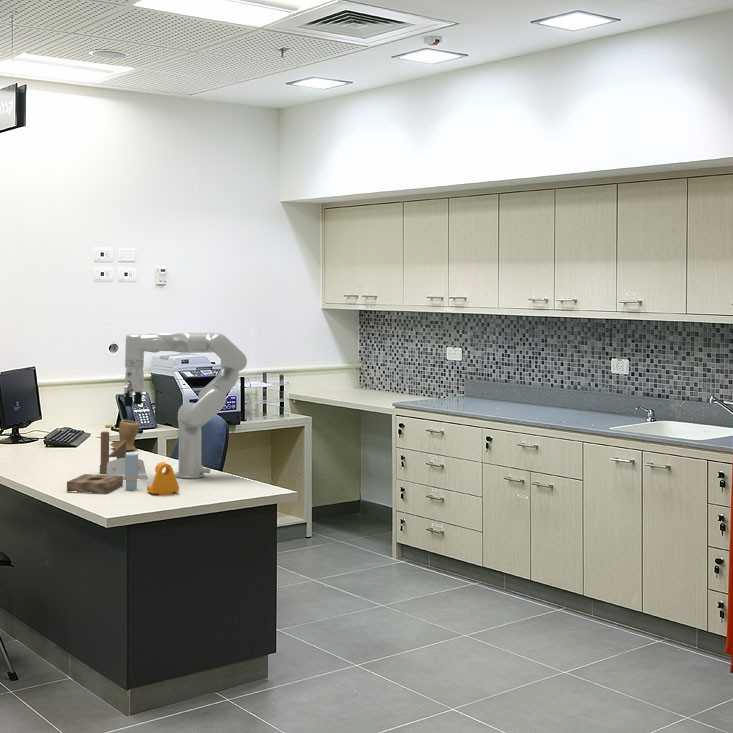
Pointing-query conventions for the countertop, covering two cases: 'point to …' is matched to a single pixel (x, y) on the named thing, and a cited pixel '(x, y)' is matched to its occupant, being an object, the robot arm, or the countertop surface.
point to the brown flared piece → (127, 434)
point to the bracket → (163, 481)
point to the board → (95, 483)
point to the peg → (131, 471)
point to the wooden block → (118, 452)
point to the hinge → (118, 468)
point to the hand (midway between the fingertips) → (133, 405)
